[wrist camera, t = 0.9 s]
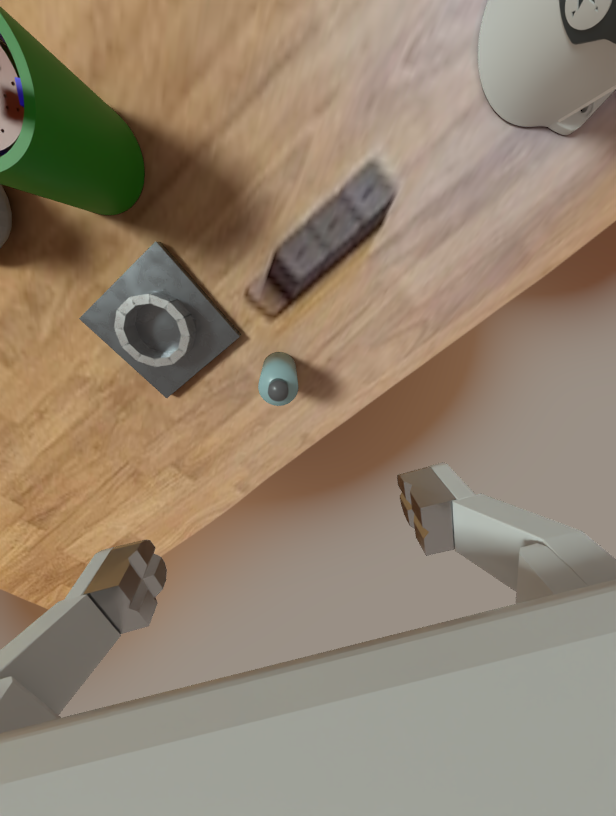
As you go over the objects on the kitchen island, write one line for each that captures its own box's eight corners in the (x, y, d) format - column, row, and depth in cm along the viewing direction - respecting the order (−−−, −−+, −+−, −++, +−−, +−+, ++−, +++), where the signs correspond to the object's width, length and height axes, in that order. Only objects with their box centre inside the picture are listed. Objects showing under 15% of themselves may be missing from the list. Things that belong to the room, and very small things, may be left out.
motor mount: (160, 242, 36) (144, 238, 32) (241, 334, 41) (236, 341, 37) (86, 317, 39) (63, 322, 35) (170, 394, 44) (158, 407, 40)
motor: (46, 90, 30) (-322, -191, 12) (140, 108, 31) (-65, -123, 13) (66, 209, 34) (-185, 137, 16) (148, 221, 35) (2, 168, 17)
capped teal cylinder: (281, 345, 42) (280, 364, 34) (302, 370, 44) (306, 394, 35) (255, 365, 43) (248, 389, 34) (277, 389, 45) (275, 417, 36)
